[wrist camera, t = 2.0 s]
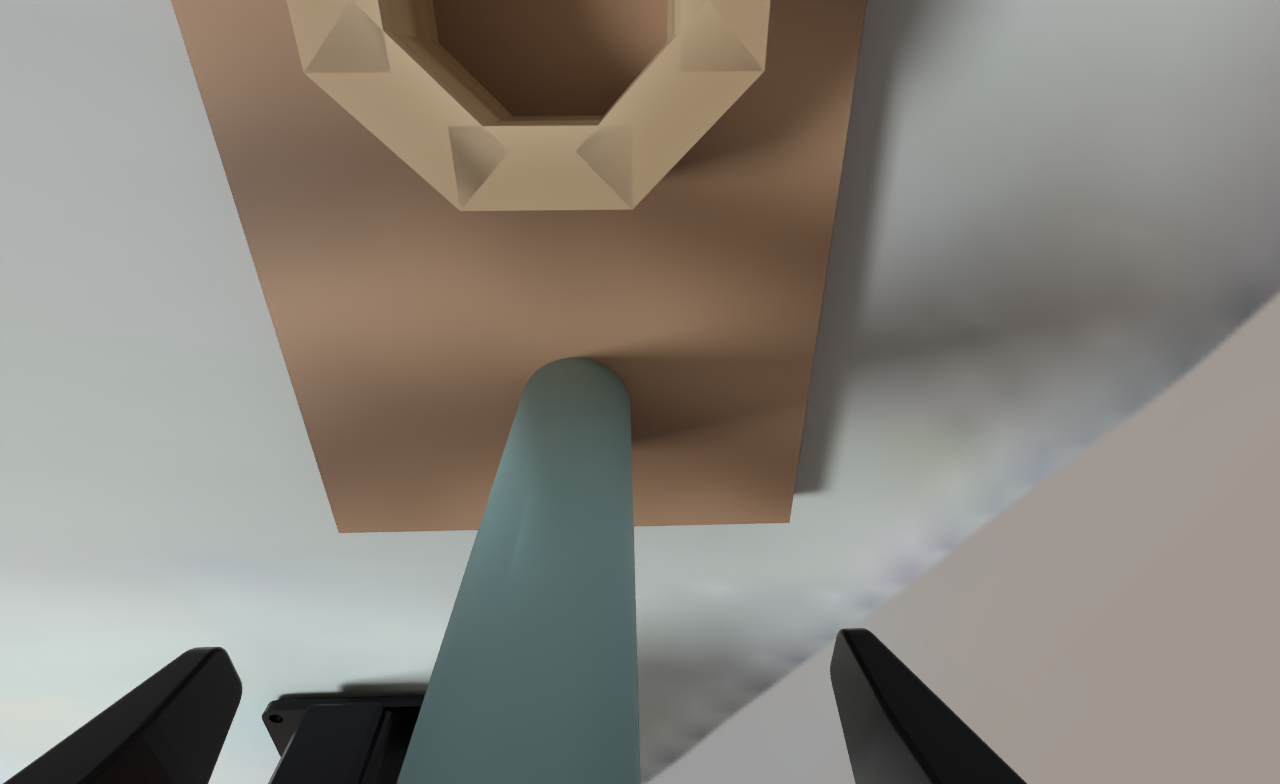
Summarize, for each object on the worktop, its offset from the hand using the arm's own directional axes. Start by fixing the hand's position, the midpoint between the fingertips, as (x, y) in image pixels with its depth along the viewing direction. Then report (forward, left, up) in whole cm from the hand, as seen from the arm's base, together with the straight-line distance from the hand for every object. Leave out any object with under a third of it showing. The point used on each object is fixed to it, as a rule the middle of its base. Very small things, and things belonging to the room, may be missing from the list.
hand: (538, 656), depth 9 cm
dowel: (0, 0, -7) cm, 7 cm away
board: (+5, 0, -9) cm, 10 cm away
